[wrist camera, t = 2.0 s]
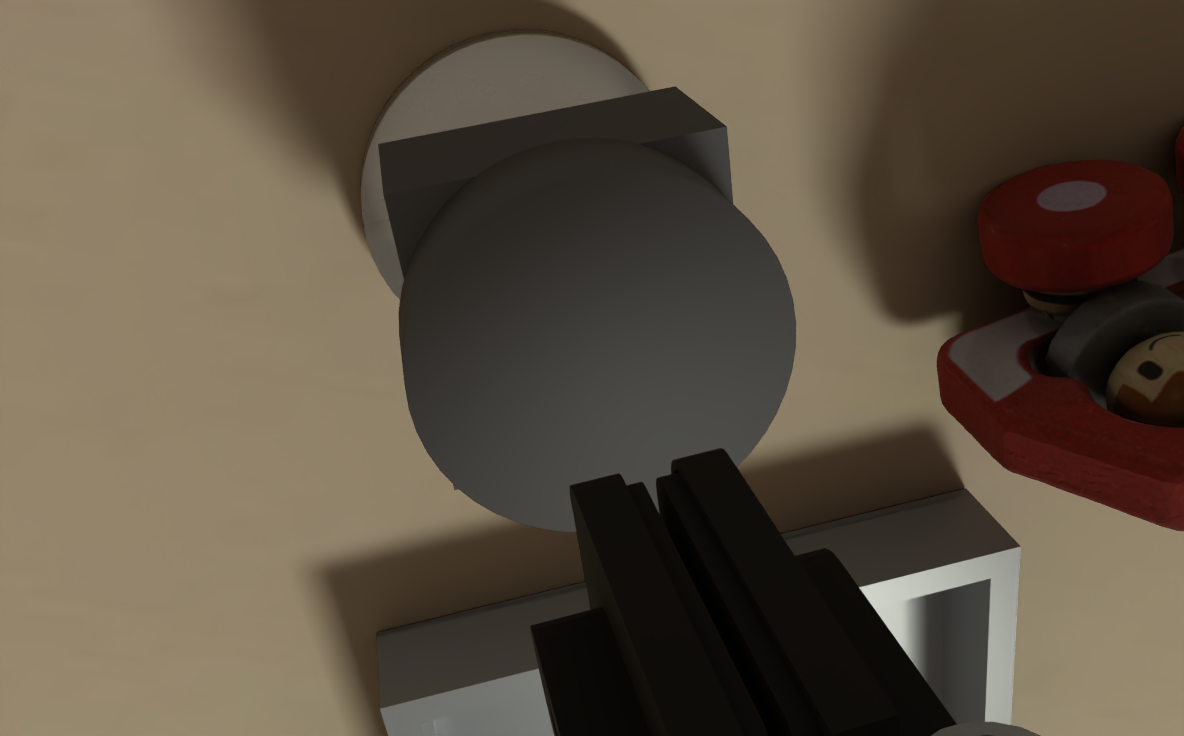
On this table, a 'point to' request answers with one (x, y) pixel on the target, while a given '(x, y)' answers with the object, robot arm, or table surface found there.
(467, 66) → the silver flared round stand
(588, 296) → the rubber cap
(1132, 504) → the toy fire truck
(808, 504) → the table surface
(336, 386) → the table surface
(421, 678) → the grey shallow rectangular tray
